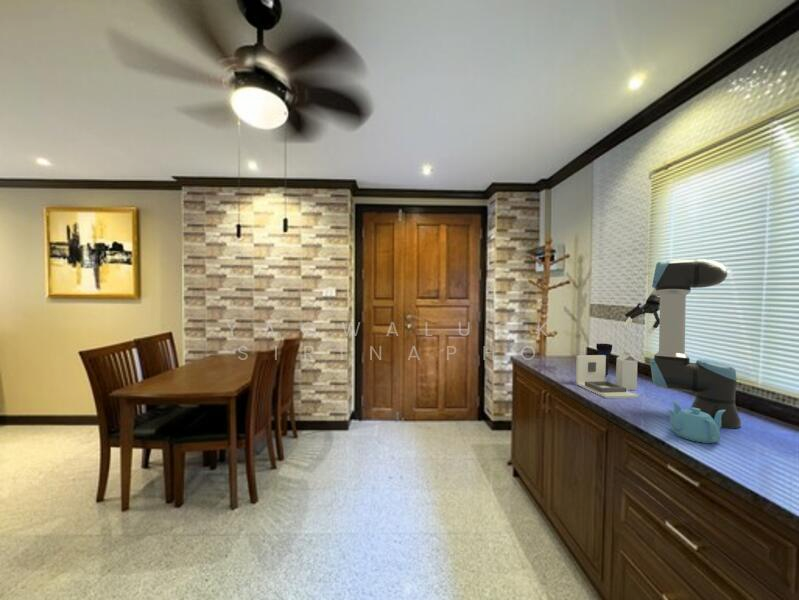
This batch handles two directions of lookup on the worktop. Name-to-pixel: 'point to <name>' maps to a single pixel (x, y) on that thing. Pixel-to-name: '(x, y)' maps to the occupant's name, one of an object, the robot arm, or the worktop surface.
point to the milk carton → (626, 371)
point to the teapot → (695, 424)
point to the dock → (598, 377)
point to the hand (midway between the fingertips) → (636, 329)
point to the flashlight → (605, 353)
